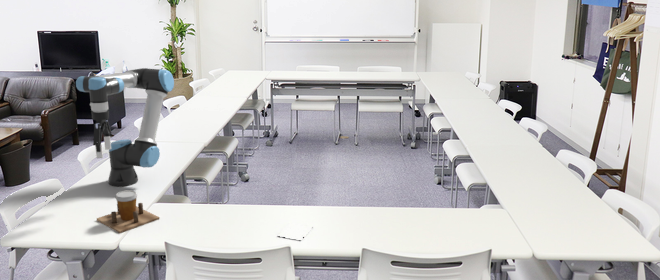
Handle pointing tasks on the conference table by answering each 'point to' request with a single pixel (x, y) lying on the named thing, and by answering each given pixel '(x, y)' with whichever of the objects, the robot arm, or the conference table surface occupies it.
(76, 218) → the conference table surface
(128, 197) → the disposable coffee cup
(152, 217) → the holder
